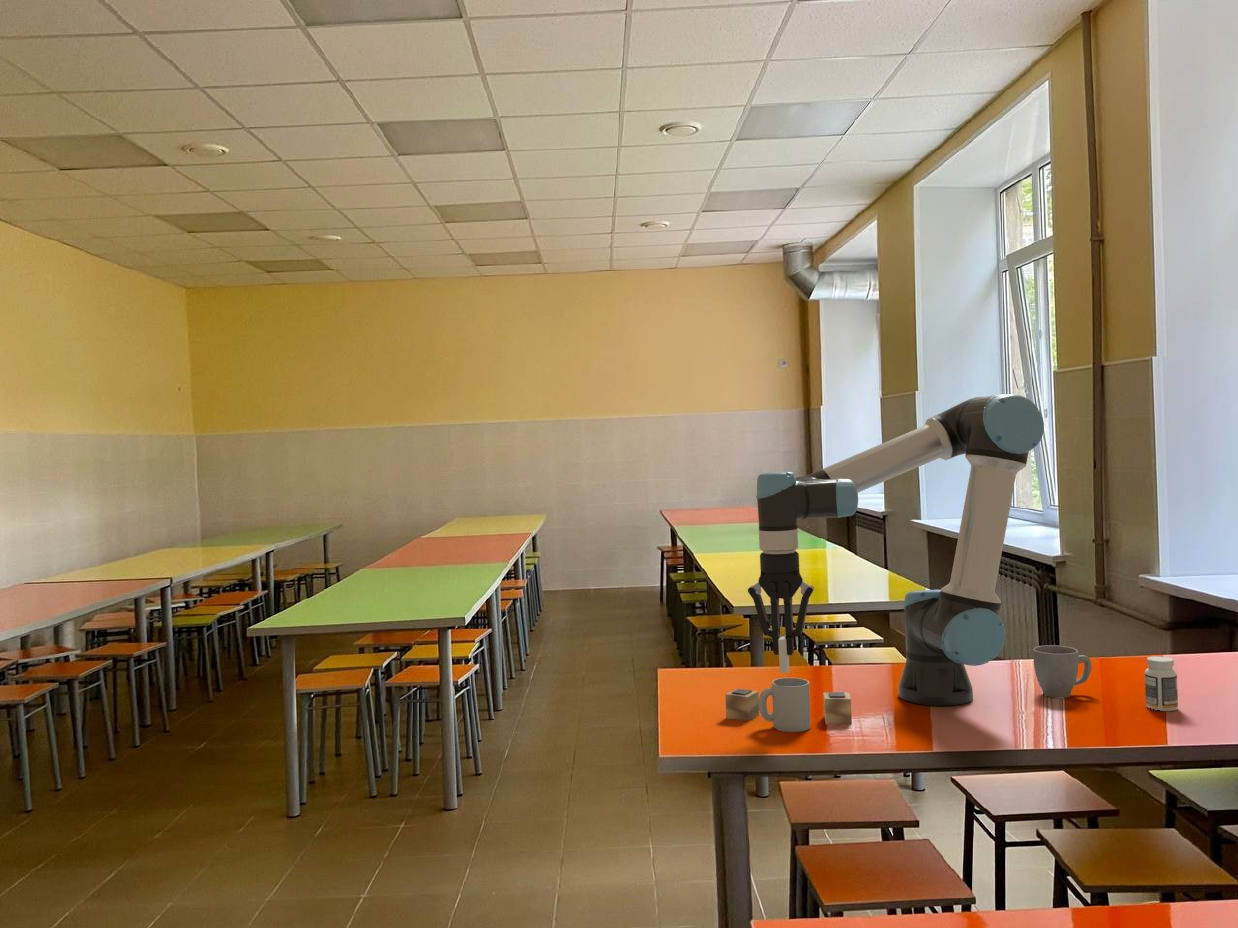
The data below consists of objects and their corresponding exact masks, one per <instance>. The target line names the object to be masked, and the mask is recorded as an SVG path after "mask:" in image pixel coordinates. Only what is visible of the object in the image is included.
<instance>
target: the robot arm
mask: <svg viewBox="0 0 1238 928" xmlns="http://www.w3.org/2000/svg"><path fill="white" fill-rule="evenodd" d="M1044 421H1045V420H1044V417H1043V414H1042V412H1041V410H1040V409H1039V408H1038V407H1037V405H1036V404H1035V403H1034V402H1033V400H1031V399H1029V398H1028V397H1026V396H1024V395H1021V394H1011V393H1010V394H1009V393H999V394H996V395H988V396H987V395H986V396H977V397H973V398H969V399H967V400H964V401H962V402H961V403H958V404H956V405H954V406H952V407H950V408H949V409H946V410H944V411H942V412H941V413H938V414H936V415H934V416H931V417H929V418H927V420H926V421H925V423H924V425H922V426H920V427H918V428H915V429H913V430H911V431H909V432H907V433H904V434H901V435H899V436H897V437H894V438H892V439H890V440H887V441H885V442H882V443H880V444H878V445H875V446H872V447H871V448H868V449H866V450H864V451H862V452H859V453H856V454H854V455H852V456H849V457H847V458H845V459H843V460H840V461H838V462H836V463H833V464H831V465H828V466H826V467H824V468H822V469H820V470H817V471H814V472H812V473H810V474H808V475H804V476H797V477H796V475H795V473H794V472H793V471H775V472H763V473H760V474H759V475H758V476H757V479H756V480H757V481H756V497H755V498H756V500H757V501H756V502H757V504H756V505H757V516H758V542H759V543H758V546H759V550H760V551H762V552H760V554H759V566H760V567H759V568H760V576H759V577H758V582H757V583H755V584H754V585H751V586H749V587H748V589H747V593H748V594H749V595H750V597H751V598H752V600H753V603H754V606H755V610H756V614H757V617H758V620H759V624H760V627H761V628H760V629H761V631H762V634H763V636H767V637H770V638H771V639H772V645H773V647H772V649H773V650H772V651H773V652H772V653H773V654H774V655H775V656H778V662H779V664H778V665H779V674H788V673H789V671H790V656H793V655H794V652H795V645H794V638H796V637H800V636H801V635H802V633H803V631H804V626H805V621H806V616H807V612H808V611H807V610H808V606H809V601H810V598H811V595H812V594H813V592H814V591H815V587H814V586H813V585H809V584H808V583H806V582H804V579H803V577H802V575H801V572H800V555H799V552H798V551H797V549H799V536H798V535H799V534H798V531H799V529H798V527H799V526H798V520H806V519H807V520H809V519H812V520H813V519H833V518H838V519H840V518H843V517H844V518H845V517H852V516H853V515H854V514H855V513H856V512H857V510H858V507H859V493H861V492H863V491H865V490H867V489H868V490H869V488H872V487H875V486H877V485H879V484H881V483H884V482H886V481H888V480H892V479H893V478H896V477H898V476H900V475H902V474H905V473H907V472H909V471H912V470H914V469H917V468H919V467H922V466H924V465H926V464H929V463H930V462H933V461H936V460H938V459H941V460H944V461H948V460H950V459H952V458H955V457H957V456H960V455H961V456H962V455H964V457H965V459H966V460H967V462H968V463H969V464H970V471H969V478H968V481H967V482H968V483H967V488H966V492H965V493H966V494H965V500H964V503H963V504H964V505H963V509H962V514H961V521H960V525H959V526H960V527H959V532H958V537H957V543H956V547H955V552H954V553H955V554H954V559H953V565H952V571H951V576H950V581H949V583H948V584H946V585H944V586H943V587H941V589H924V590H913V591H911V590H910V591H908V592H907V593H906V594H905V596H904V604H903V605H904V606H903V611H904V634H905V637H904V638H905V663H904V666H903V669H902V673H901V677H900V679H899V680H900V681H899V683H898V697H900V699H902V700H904V701H905V702H909V703H913V704H919V705H926V706H937V707H938V706H941V707H943V706H944V707H945V706H946V707H947V706H958V705H964V704H967V703H969V702H972V700H974V689H973V685H972V683H971V680H970V677H969V675H968V674H969V673H968V671H967V669H966V666H971V667H974V666H975V667H977V666H982V665H985V664H986V665H987V664H988V663H989V662H991V661H992V660H994V659H995V658H997V656H999V655H1000V652H1002V650H1003V648H1004V646H1005V642H1006V638H1007V635H1006V634H1007V630H1006V627H1005V623H1003V621H1002V619H1001V617H1000V611H1001V604H1002V601H1001V599H1000V597H999V596H998V595H997V593H996V585H997V580H998V577H999V576H998V575H999V570H1000V565H1001V559H1002V553H1003V548H1004V543H1005V537H1006V531H1007V527H1008V526H1007V525H1008V521H1009V517H1010V509H1011V505H1012V504H1011V503H1012V499H1013V494H1014V493H1013V492H1014V489H1015V488H1014V487H1015V482H1016V476H1017V474H1018V473H1019V472H1020V471H1021V470H1023V469H1025V468H1026V467H1027V463H1028V457H1029V452H1030V451H1032V450H1033V449H1034V448H1035V447H1037V446H1038V445H1039V444H1040V442H1041V440H1042V438H1043V435H1044V433H1045V432H1044V431H1045V424H1044V423H1045V422H1044ZM799 588H800V589H801V590H800V593H801V595H802V597H801V600H800V603H799V604H800V605H799V610H798V614H797V618H796V625H795V629H794V621H793V620H794V618H793V617H794V615H793V597H794V596H795V595H796V593H797V591H798V590H799ZM762 590H763V591H764V593H765V594H766V595H767V596H768V598H769V600H770V601H769V602H770V603H769V604H770V616H771V626H770V622H769V618H768V614H767V611H766V608H765V604H764V600H763V598H762V595H761V594H762ZM780 599H781V600H783V609H784V610H783V611H784V613H783V614H784V628H785V629H784V632H785V636H781V633H782V632H781V622H780V621H781V620H780V616H781V615H780Z"/></svg>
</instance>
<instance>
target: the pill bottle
mask: <svg viewBox="0 0 1238 928" xmlns="http://www.w3.org/2000/svg"><path fill="white" fill-rule="evenodd" d="M1174 661H1175V660H1174V659H1173V657H1172V658H1171V657H1167V656H1155V655H1154V656H1149V657H1146V665H1147V666H1148V668H1146V669H1145V671H1144V691H1145V692H1144V695H1145V706H1146V708H1148V709H1150V708H1151V709H1150V710H1153V709H1154V710H1153V711H1157V710H1160V711H1159V712H1172V711H1176V710H1178V708H1179V700H1178V698H1179V697H1178V674H1177V671H1175V670H1174V669H1173V667H1174V665H1175V662H1174Z"/></svg>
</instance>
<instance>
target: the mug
mask: <svg viewBox="0 0 1238 928" xmlns="http://www.w3.org/2000/svg"><path fill="white" fill-rule="evenodd" d="M1032 657H1033V666H1034V667H1033V668H1034V672H1035V677H1036V681H1037V682H1038V684H1039V687H1040V688H1041V692H1042V695H1043V696H1046V697H1050V698H1055V699H1064V698H1065V699H1066V698H1070V697H1071V695H1072V694H1071V693H1072V691H1073V688H1074V687H1075V686H1079V685H1081V684H1083V683H1084V684H1085V683H1086V682H1087V681H1088V679H1089V677H1090V675H1091V673H1092V669H1093V668H1092V666H1093V665H1092V661H1091V659H1090V658H1089V656H1087V655H1085V654H1079V651H1078V649H1077V648H1074V647H1070V646H1067V645H1066V646H1065V645H1056V644H1055V645H1054V644H1053V645H1052V644H1051V645H1050V644H1049V645H1048V644H1047V645H1037V646H1035V647H1034V648H1033V650H1032ZM1082 663H1083V664H1084V666H1083V672H1082V674H1081V676H1080V677H1079V678H1078V672H1079V664H1082Z"/></svg>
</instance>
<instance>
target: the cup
mask: <svg viewBox="0 0 1238 928" xmlns="http://www.w3.org/2000/svg"><path fill="white" fill-rule="evenodd" d="M810 695H811V694H810V681H809V680H808V679H804V678H799V677H781V678H776V679H773V680H772V681H771V687H769V686H768V687H767V688H764V689H763V690H762V691H761V692H760V693H759V695H758V696H759V701H758V707H759V715H760V716H761V717H762V718H763V719H764V720H765V721H768V722H770V723H773V724H772V725H773V727H774V729H775V730H777V731H780V732H783V733H802V732H806V731H809V730H810V728H811V700H810V699H811V698H810V697H811V696H810ZM771 696H772V699H771V700H772V713H770V712H769V710H768V707H767V701H768V697H771Z"/></svg>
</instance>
